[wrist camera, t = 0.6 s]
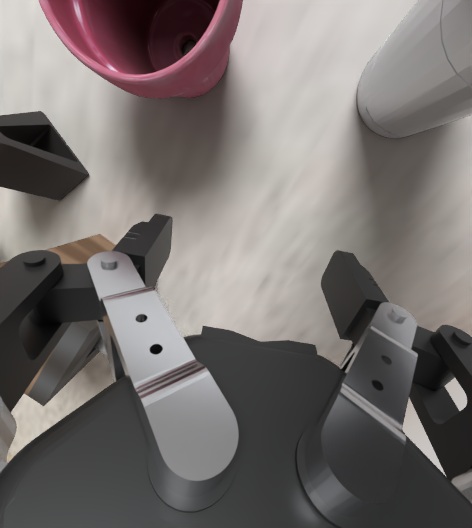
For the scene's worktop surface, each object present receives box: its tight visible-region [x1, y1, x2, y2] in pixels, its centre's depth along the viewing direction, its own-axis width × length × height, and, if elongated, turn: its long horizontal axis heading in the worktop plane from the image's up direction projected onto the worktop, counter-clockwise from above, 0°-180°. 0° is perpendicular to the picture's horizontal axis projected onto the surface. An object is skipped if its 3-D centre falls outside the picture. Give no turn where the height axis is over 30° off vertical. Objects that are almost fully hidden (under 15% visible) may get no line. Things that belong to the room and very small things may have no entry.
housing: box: [0, 234, 116, 406], centre depth 31 cm, size 12×10×14 cm
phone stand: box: [0, 111, 89, 200], centre depth 28 cm, size 9×6×12 cm, turn 33°
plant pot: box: [39, 0, 243, 98], centre depth 22 cm, size 14×14×13 cm
